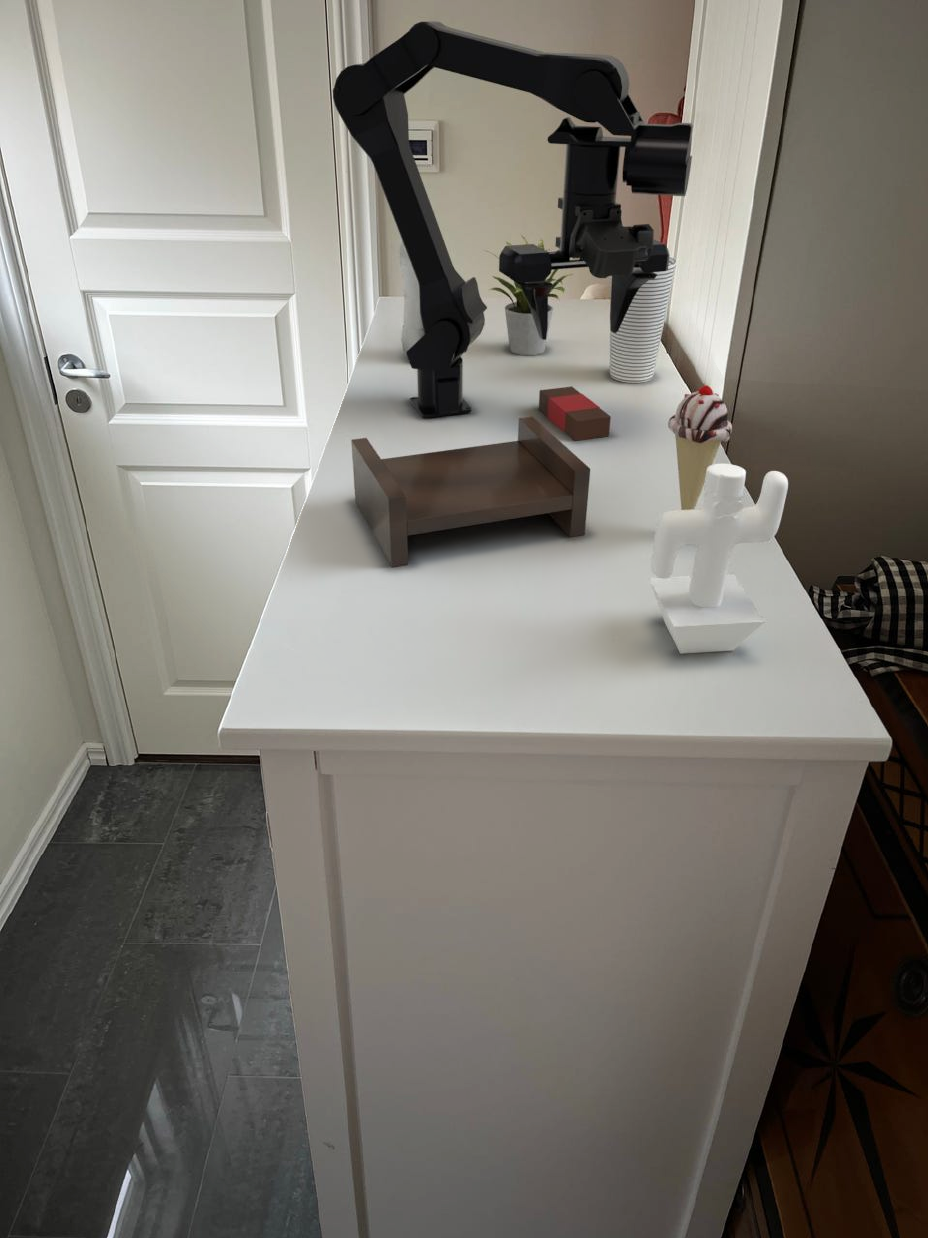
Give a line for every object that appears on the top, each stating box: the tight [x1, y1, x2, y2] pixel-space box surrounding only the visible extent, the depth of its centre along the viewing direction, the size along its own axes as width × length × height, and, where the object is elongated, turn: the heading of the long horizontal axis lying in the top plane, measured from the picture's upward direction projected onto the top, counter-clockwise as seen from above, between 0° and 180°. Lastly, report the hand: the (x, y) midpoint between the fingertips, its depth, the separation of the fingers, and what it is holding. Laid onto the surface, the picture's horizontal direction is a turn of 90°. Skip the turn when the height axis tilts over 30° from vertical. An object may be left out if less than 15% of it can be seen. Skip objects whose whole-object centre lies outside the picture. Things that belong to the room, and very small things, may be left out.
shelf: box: [350, 416, 591, 568], centre depth 92 cm, size 14×20×7 cm
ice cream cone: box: [667, 384, 733, 510], centre depth 87 cm, size 6×6×15 cm
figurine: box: [648, 463, 789, 655], centre depth 72 cm, size 7×9×15 cm
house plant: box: [483, 234, 574, 356], centre depth 135 cm, size 14×14×16 cm
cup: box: [609, 256, 678, 384], centre depth 125 cm, size 8×8×16 cm
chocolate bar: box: [538, 386, 612, 442], centre depth 114 cm, size 11×5×3 cm, turn 19°
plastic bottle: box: [398, 209, 435, 356], centre depth 130 cm, size 6×7×20 cm
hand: (578, 335), depth 109 cm, fingers open, 9 cm apart
